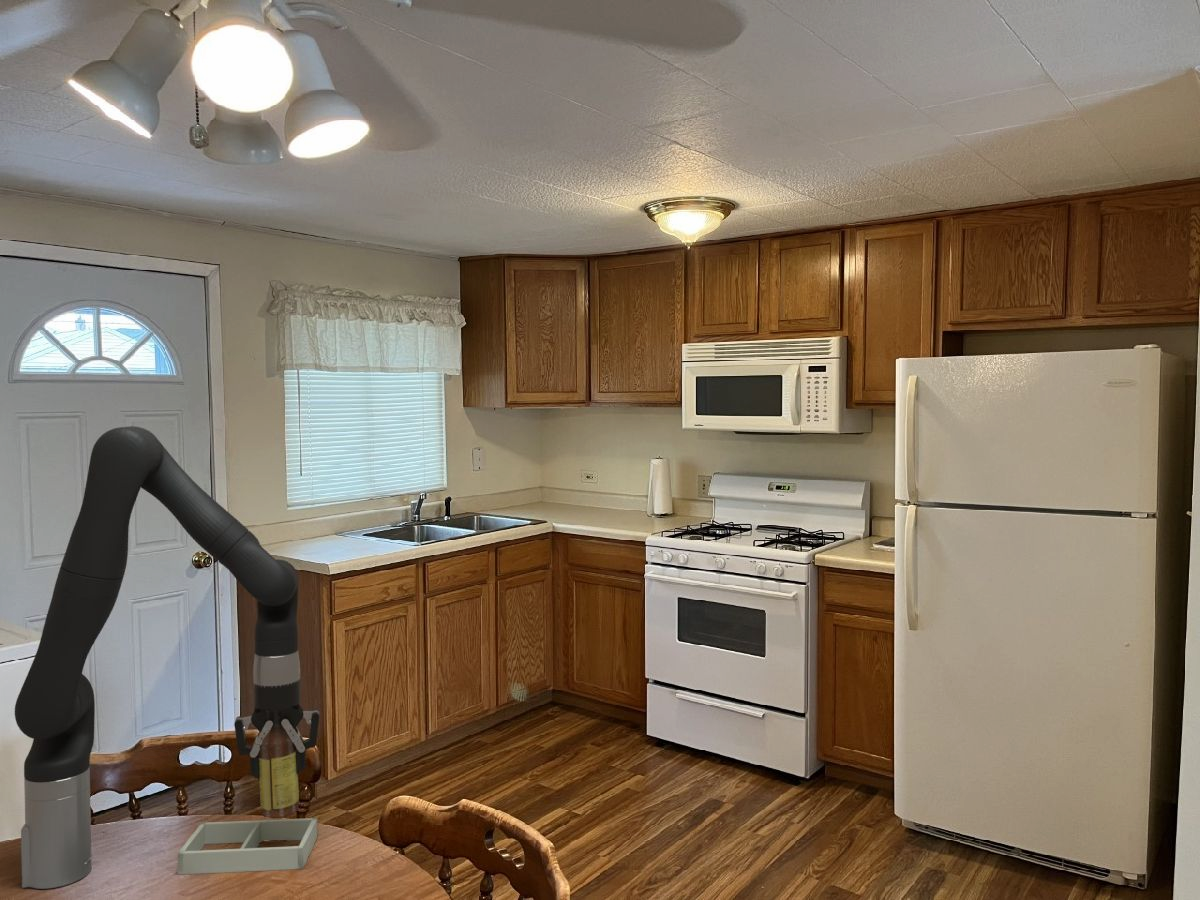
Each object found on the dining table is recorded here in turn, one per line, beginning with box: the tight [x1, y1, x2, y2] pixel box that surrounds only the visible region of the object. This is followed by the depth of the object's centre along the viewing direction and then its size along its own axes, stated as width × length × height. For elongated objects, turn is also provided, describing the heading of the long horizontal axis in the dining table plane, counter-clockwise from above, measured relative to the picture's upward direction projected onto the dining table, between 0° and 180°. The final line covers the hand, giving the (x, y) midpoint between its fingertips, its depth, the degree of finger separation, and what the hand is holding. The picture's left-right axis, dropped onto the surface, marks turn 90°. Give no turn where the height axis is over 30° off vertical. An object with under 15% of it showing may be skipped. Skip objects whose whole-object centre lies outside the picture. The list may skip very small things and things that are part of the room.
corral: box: [177, 817, 319, 876], centre depth 156 cm, size 20×12×4 cm, turn 96°
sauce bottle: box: [258, 710, 300, 819], centre depth 156 cm, size 7×6×20 cm
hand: (278, 774), depth 156 cm, fingers closed on sauce bottle, 6 cm apart
